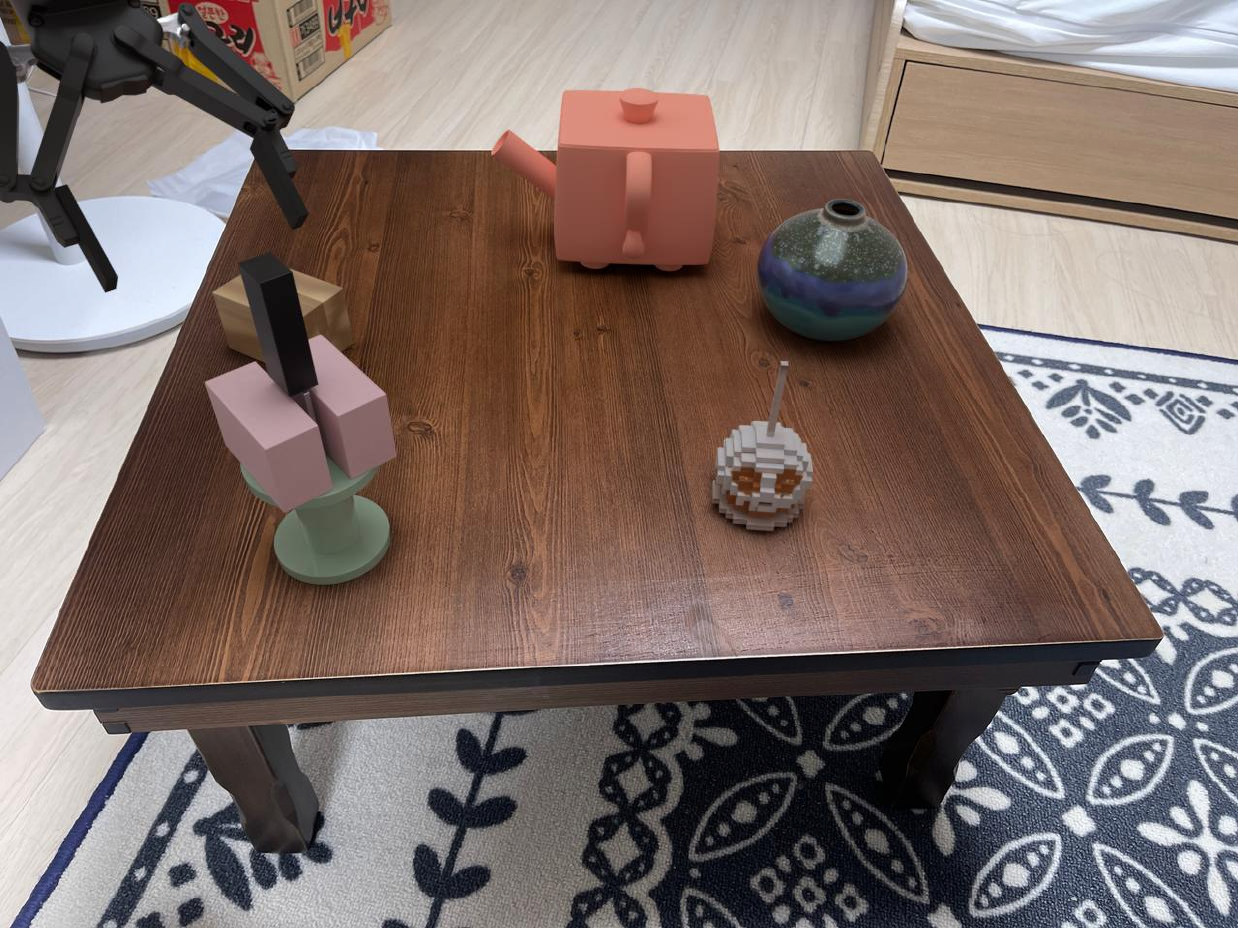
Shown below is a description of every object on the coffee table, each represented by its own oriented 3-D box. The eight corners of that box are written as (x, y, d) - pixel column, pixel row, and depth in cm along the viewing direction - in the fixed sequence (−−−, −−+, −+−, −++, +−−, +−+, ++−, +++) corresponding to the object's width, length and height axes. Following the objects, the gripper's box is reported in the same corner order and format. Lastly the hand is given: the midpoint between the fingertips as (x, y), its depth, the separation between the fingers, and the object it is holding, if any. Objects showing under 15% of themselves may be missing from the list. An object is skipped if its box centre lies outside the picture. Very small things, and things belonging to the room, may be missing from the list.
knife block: (306, 380, 90) (292, 323, 86) (228, 348, 93) (211, 292, 89) (353, 343, 95) (343, 288, 90) (278, 314, 98) (264, 259, 93)
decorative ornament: (712, 531, 78) (735, 392, 68) (710, 467, 84) (731, 330, 73) (805, 537, 78) (842, 399, 68) (797, 473, 84) (830, 336, 73)
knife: (310, 470, 67) (261, 285, 56) (286, 444, 69) (235, 260, 58) (337, 457, 68) (295, 273, 58) (313, 432, 70) (267, 249, 59)
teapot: (487, 291, 103) (476, 134, 90) (503, 193, 119) (496, 49, 107) (713, 297, 104) (733, 143, 91) (698, 199, 120) (714, 57, 108)
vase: (903, 367, 96) (939, 253, 86) (753, 358, 96) (773, 243, 87) (880, 285, 107) (910, 176, 98) (746, 277, 107) (763, 167, 98)
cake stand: (308, 611, 70) (281, 521, 64) (247, 535, 76) (216, 444, 69) (421, 547, 76) (406, 457, 69) (356, 480, 81) (337, 390, 74)
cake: (284, 513, 64) (265, 449, 60) (225, 445, 69) (203, 381, 65) (397, 456, 69) (386, 393, 65) (334, 396, 73) (321, 333, 69)
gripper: (225, -36, 72) (355, 217, 75) (-150, 29, 59) (22, 330, 62) (240, -99, 66) (382, 180, 68) (-177, -42, 53) (16, 298, 55)
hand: (211, 252), depth 65 cm, fingers open, 13 cm apart
